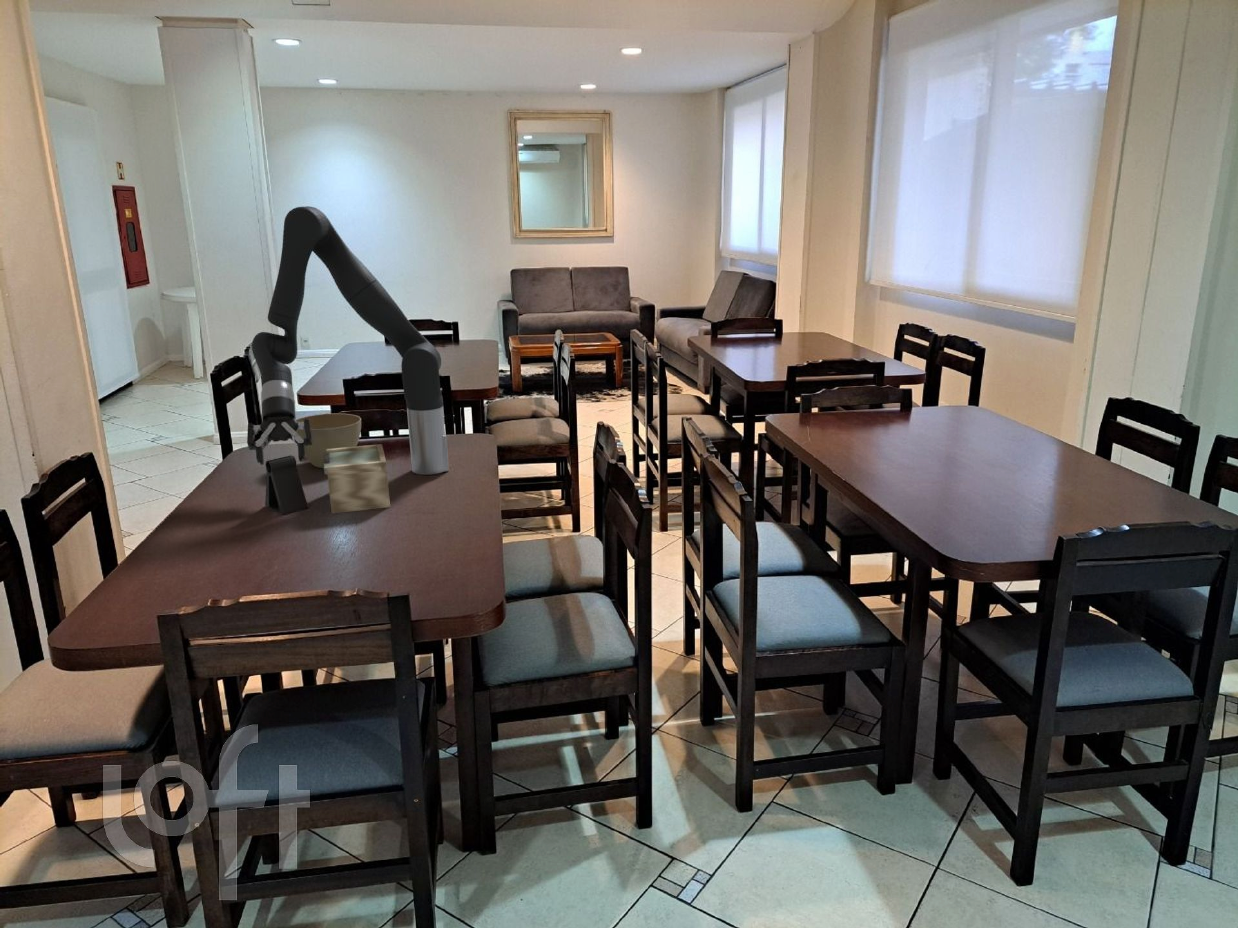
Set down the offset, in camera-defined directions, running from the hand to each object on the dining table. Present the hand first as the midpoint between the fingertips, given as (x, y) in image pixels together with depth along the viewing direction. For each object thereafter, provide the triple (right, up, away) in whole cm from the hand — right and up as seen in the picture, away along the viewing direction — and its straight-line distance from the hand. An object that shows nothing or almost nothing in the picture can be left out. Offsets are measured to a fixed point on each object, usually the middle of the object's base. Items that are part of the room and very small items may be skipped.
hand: (281, 461), depth 200 cm
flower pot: (+1, -1, +33) cm, 33 cm away
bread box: (+17, -9, +5) cm, 20 cm away
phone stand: (+1, -11, 0) cm, 11 cm away
